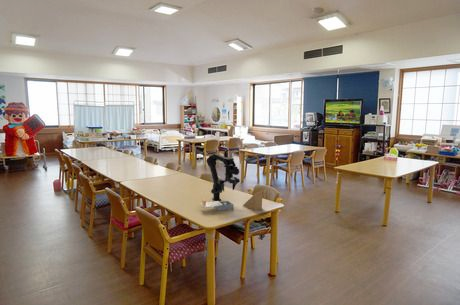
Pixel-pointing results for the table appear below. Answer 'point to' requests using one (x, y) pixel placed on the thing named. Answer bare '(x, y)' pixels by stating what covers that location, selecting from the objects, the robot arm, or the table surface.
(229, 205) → the tub
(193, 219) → the table surface
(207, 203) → the lid
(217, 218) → the table surface
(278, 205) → the table surface
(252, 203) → the sandwich container
